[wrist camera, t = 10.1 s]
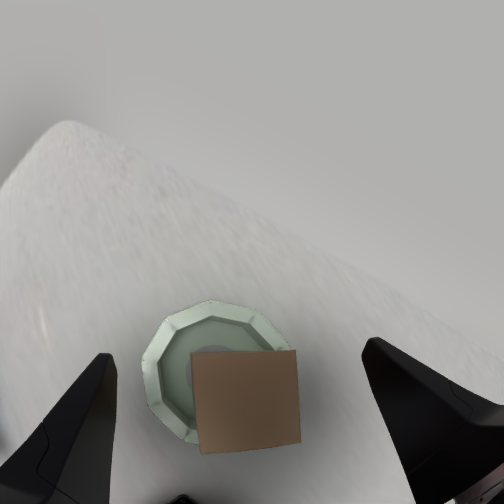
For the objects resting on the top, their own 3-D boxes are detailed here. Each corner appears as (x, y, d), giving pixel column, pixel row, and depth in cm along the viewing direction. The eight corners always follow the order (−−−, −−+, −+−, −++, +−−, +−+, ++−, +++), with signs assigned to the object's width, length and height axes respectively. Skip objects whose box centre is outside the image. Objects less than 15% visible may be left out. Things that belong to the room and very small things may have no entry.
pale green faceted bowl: (216, 457, 19) (221, 474, 15) (122, 363, 20) (110, 365, 16) (303, 374, 22) (322, 377, 19) (216, 282, 23) (221, 270, 20)
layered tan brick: (240, 396, 20) (300, 442, 9) (192, 398, 19) (200, 453, 8) (238, 350, 21) (295, 349, 10) (190, 352, 20) (192, 355, 9)
